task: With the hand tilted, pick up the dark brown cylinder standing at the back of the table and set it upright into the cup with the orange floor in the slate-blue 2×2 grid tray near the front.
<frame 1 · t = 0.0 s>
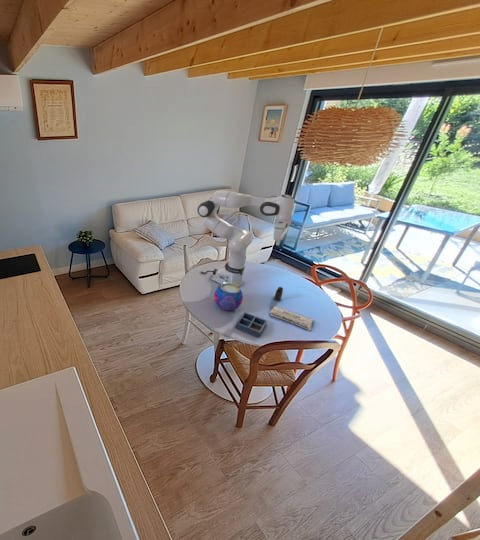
hand: (279, 242, 182), 39 cm above the table, tool pointing down, fingers open, 8 cm apart
ceramic pot: (226, 306, 187), on the table
dark brown cylinder: (277, 299, 194), on the table
grid: (250, 326, 170), on the table
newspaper: (290, 318, 176), on the table
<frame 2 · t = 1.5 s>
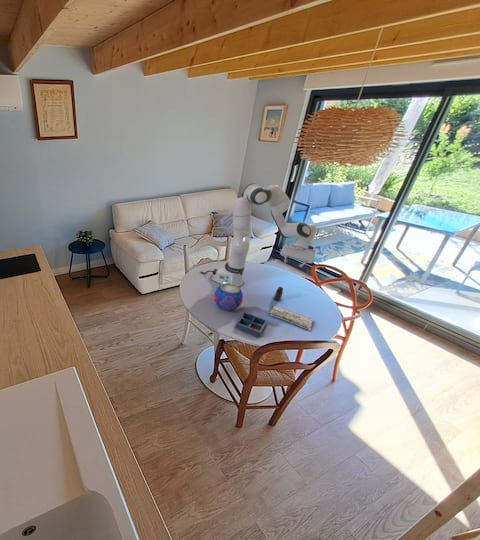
hand: (292, 264, 190), 22 cm above the table, tool tilted 45°, fingers open, 8 cm apart
nothing on the table moved.
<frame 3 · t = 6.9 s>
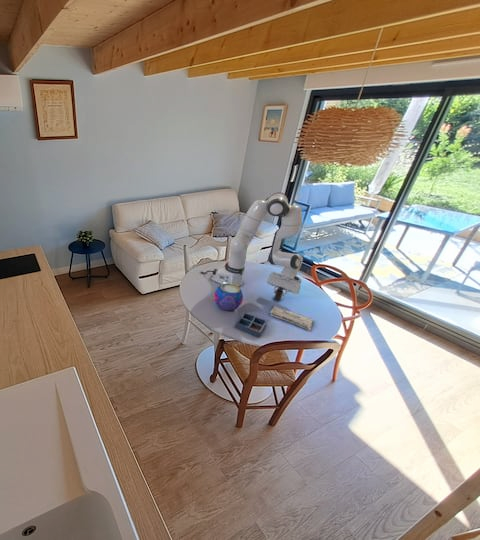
hand: (278, 294, 192), 4 cm above the table, tool tilted 45°, fingers closed on dark brown cylinder, 4 cm apart
dark brown cylinder: (277, 299, 194), on the table, touching gripper
everything else where it was.
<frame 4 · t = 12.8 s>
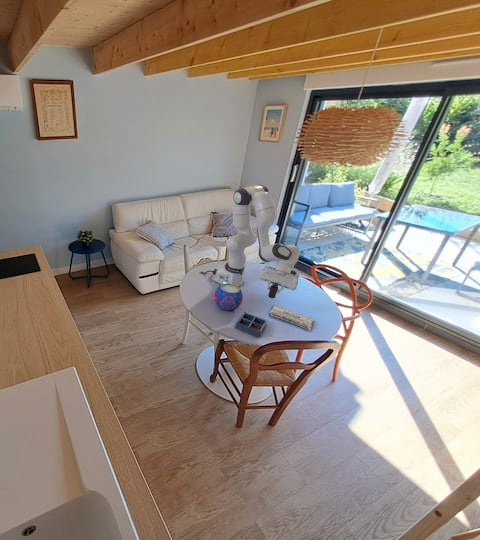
hand: (273, 290, 168), 20 cm above the table, tool tilted 45°, fingers closed on dark brown cylinder, 4 cm apart
dark brown cylinder: (271, 296, 171), point 15 cm above the table, touching gripper
everything else where it was.
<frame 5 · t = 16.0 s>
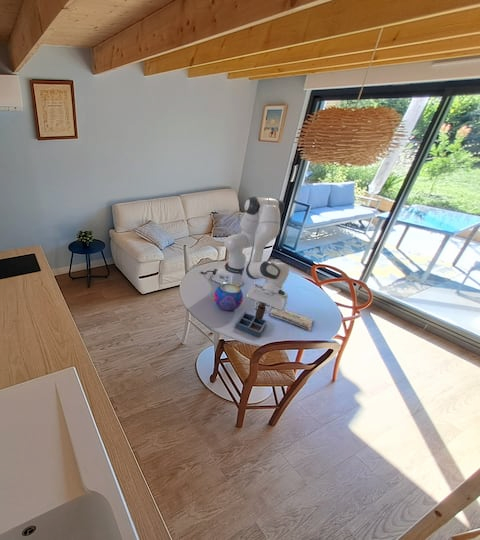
hand: (260, 311, 158), 15 cm above the table, tool tilted 45°, fingers closed on dark brown cylinder, 4 cm apart
dark brown cylinder: (258, 317, 161), point 11 cm above the table, touching gripper
everything else where it was.
when the fingers open (5 cm above the table, at t = 18.7 s): dark brown cylinder stays where it is, resting on grid.
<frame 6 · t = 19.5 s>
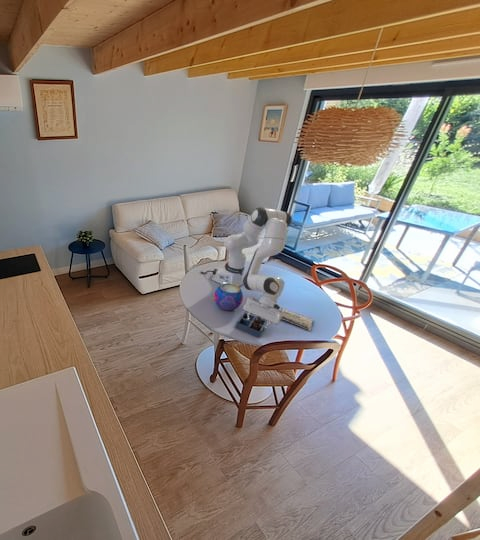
hand: (256, 324, 163), 6 cm above the table, tool tilted 45°, fingers open, 8 cm apart
dark brown cylinder: (255, 330, 166), point 1 cm above the table, touching grid
everything else where it was.
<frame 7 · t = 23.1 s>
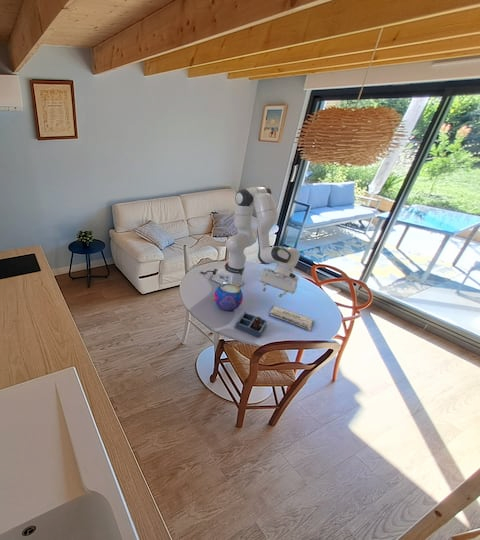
hand: (271, 293, 167), 19 cm above the table, tool tilted 45°, fingers open, 8 cm apart
nothing on the table moved.
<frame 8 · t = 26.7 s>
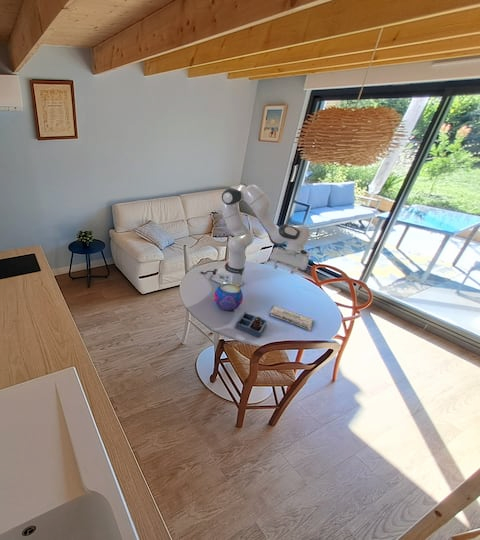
hand: (283, 270, 169), 29 cm above the table, tool tilted 45°, fingers open, 8 cm apart
nothing on the table moved.
at the end: dark brown cylinder 0.2 cm from the target spot in the grid, point 0.8 cm above the grid's base; dark brown cylinder tilted 0°; the gripper is holding nothing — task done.
